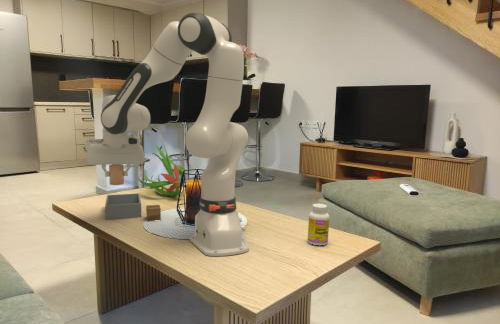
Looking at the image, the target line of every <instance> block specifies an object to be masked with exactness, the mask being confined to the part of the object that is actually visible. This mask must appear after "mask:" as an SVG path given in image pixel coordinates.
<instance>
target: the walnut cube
mask: <svg viewBox="0 0 500 324" xmlns="http://www.w3.org/2000/svg"><path fill="white" fill-rule="evenodd" d="M145 207H146V210H145V211H146V221H147V222H156V221H155V220H160V221H162V218H161V217H162V215H161V205H160V204H151V205H150V204H148V205H146V206H145Z"/></svg>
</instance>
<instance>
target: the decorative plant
mask: <svg viewBox="0 0 500 324" xmlns="http://www.w3.org/2000/svg"><path fill="white" fill-rule="evenodd" d="M154 146H155V147H156V149H157V151H158V153H159V155H160V156H159V155H158V154H157V153H155V152H151V154H153V155H154V156H156V157H157V158H158V160H160V161H161V163H162V164H163V165H162V166H163V167H164V168H165V170H166V172H167V173H160V175H161V176H162V177H163V178H164V180H160V176H158V178H157V181H155V180H153V177H154V175H151V177H150V178H148V177H147V175H146V171H144V173H143V175H144V178H141V179H142V180H141V179H140V178H139V177H140V176H138V177H137V178H138V181H139V182H140V184H141V186H142V187H143V188H145V189H147V187H148V189H149V190H150V189H151V190H155V192H156V193H157V194H158V195H162V196H165V197H170V198H175V197H177V196H178V195H180V192H179V188H180V180H181V175H182V172H183V171H184V170H186V169H185V168H183V167H182V166H180V165H178V163H177V161H178V160H177V159H176V160H175V162H176V163H177V164H176V163H174V162H173V161H172V160H170V157H169V154H168V151H167V149H166V147H165V145H161V146H160V148H159V146H158V145H156V144H154ZM162 147H163V149H164V152H165V153H164V152H163V151H162ZM172 165H173V167H172ZM166 186H169V187H168V188H167V187H166ZM174 190H175V191H174Z"/></svg>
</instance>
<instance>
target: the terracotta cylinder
mask: <svg viewBox="0 0 500 324" xmlns="http://www.w3.org/2000/svg"><path fill="white" fill-rule="evenodd" d="M124 169H125V168H124V164H109V165H108V171H109V175H110V176H109V185H111V186H121V185H124V184H125V181H124V180H125V176H124V171H125V170H124Z"/></svg>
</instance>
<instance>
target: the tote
mask: <svg viewBox="0 0 500 324" xmlns="http://www.w3.org/2000/svg"><path fill="white" fill-rule="evenodd" d="M104 207H105V209H104V211H105V213H104V214H105V221H108V220H120V219H123V220H125V219H132V218H133V219H134V218H135V219H136V218H137V219H138V218H142V201H141V195H140V193H123V194H122V193H121V194H107V195H106V198H105V203H104Z"/></svg>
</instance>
